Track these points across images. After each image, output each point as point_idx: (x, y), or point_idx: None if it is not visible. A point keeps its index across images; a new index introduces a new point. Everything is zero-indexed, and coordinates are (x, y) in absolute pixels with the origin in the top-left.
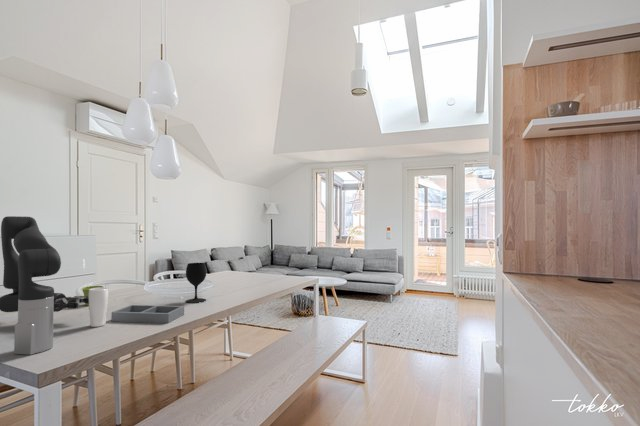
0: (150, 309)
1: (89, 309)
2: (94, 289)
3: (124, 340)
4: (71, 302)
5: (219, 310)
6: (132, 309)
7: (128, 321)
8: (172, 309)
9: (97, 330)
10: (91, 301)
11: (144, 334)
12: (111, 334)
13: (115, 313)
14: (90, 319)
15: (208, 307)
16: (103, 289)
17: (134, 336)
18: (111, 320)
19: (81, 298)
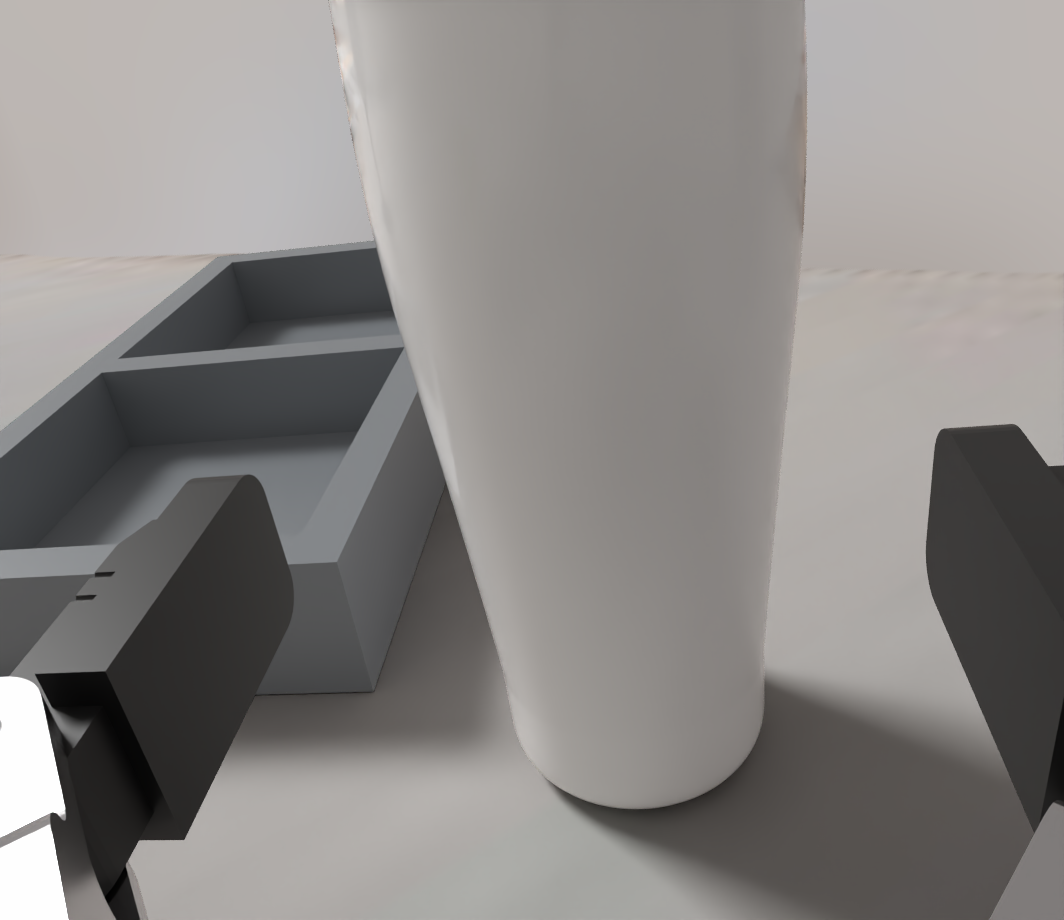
0: (261, 350)
1: (753, 487)
2: (447, 22)
3: (1029, 300)
4: (1048, 560)
5: (182, 264)
6: None
7: (433, 511)
8: (208, 319)
9: (876, 587)
10: (801, 240)
11: (833, 289)
12: (943, 415)
13: (364, 532)
14: (752, 658)
15: (44, 315)
16: None
17: (906, 302)
18: (369, 682)
19: (68, 794)
